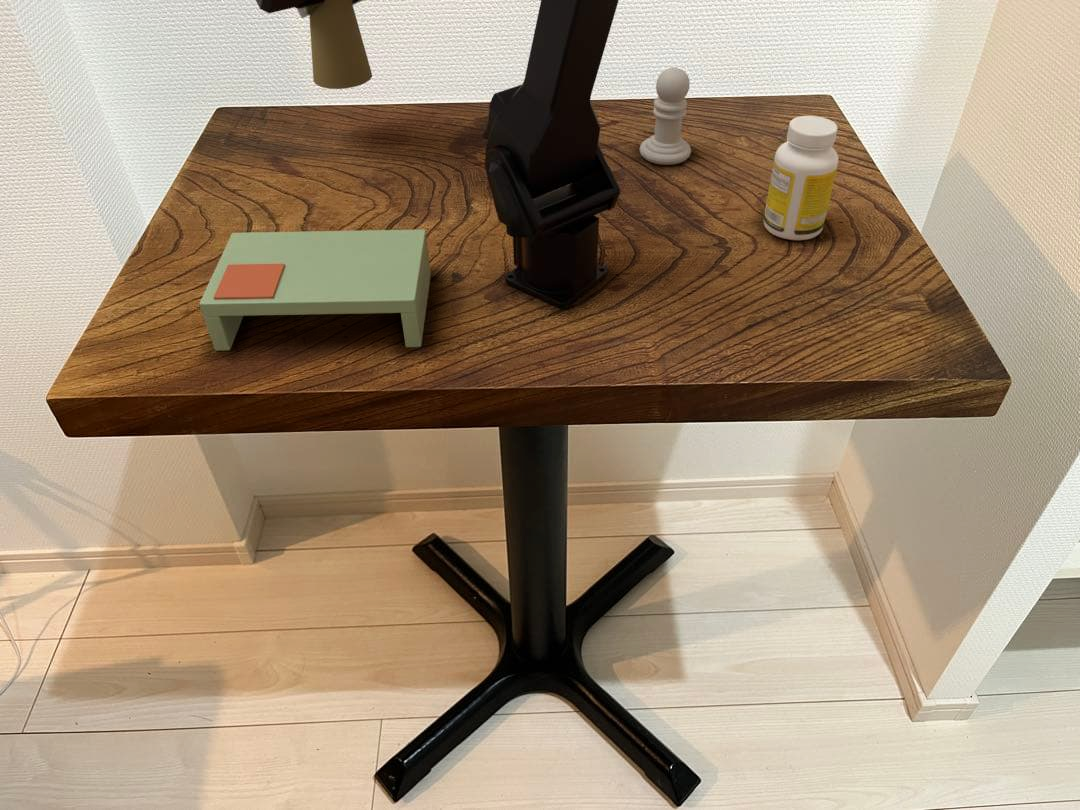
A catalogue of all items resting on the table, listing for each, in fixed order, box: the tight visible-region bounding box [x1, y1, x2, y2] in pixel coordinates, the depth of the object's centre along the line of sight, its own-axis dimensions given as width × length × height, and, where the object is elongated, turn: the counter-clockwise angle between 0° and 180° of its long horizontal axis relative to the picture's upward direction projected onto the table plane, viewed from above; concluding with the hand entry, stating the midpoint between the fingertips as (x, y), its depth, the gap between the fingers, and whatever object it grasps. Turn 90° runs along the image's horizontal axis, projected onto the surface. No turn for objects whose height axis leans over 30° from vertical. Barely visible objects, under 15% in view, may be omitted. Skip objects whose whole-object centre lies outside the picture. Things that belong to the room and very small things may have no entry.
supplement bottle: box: [763, 115, 839, 241], centre depth 76 cm, size 5×5×10 cm
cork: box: [308, 0, 373, 90], centre depth 85 cm, size 6×6×11 cm
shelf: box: [199, 228, 432, 352], centre depth 69 cm, size 10×16×5 cm, turn 91°
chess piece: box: [639, 67, 692, 166], centre depth 87 cm, size 5×5×9 cm
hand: (324, 7), depth 85 cm, fingers closed on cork, 5 cm apart
